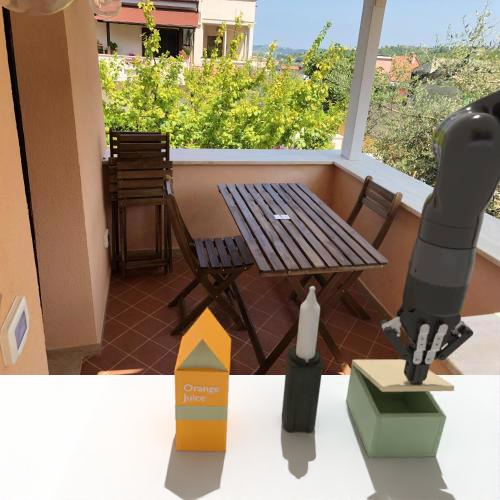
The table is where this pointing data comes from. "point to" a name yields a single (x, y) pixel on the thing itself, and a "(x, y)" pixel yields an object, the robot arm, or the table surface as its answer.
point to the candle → (303, 372)
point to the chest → (394, 419)
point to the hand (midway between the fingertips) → (413, 380)
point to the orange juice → (202, 386)
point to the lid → (398, 376)
